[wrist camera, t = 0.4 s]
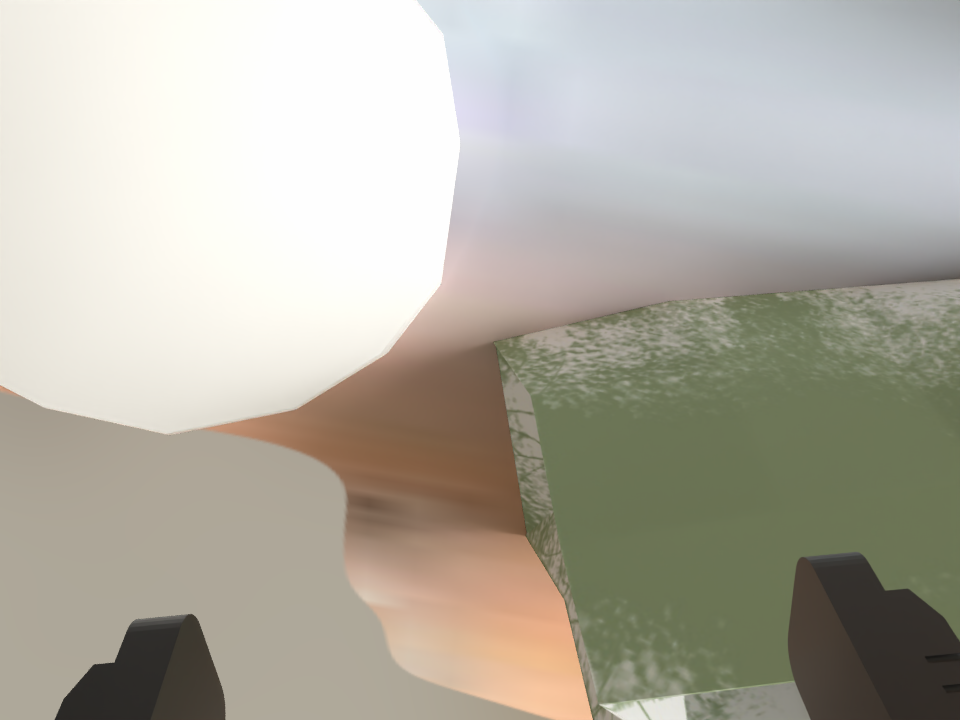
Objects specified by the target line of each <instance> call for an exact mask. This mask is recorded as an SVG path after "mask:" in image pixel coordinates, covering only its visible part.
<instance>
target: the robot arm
mask: <svg viewBox="0 0 960 720" xmlns="http://www.w3.org/2000/svg"><path fill="white" fill-rule="evenodd" d="M788 653H789V660H790V665H791V670H792V674H793V677H794V680H795V683H796V686H797V688H798V691H799V693H800V696H801V698H802V700H803V703H804V705H805V707H806V710H807V712H808V714H809V717H810V719H811V720H960V641H959V639H958V638H957V636H956V635H955V633H954V632H953V630H952V629H951V627H950V626H949V624H948V622H947V621H946V619H945V618H944V617H943V616H942V615H941V614H939V613H938V612H937V611H936V610H934V609H933V608H932V607H931V606H930V605H928V604H927V603H926V602H925V601H923V600H922V599H921V598H920V597H918V596H917V595H916V594H915V593H913V592H912V591H911V590H910V589H908V588H907V589H897V590H886V591H885V589H884V587H883V586H882V584H881V582H880V581H879V579H878V577H877V576H876V574H875V572H874V571H873V569H872V567H871V566H870V564H869V562H868V561H867V559H866V558H865V557H864V556H863V555H862V554H861V553H859V552H849V553H839V554H829V555H818V556H808V557H801V558H799V560H798V562H797V565H796V571H795V580H794V588H793V597H792V605H791V613H790V622H789V630H788ZM55 720H225V700H224V694H223V690H222V686H221V683H220V681H219V678H218V675H217V672H216V669H215V666H214V664H213V661H212V658H211V655H210V652H209V649H208V646H207V644H206V641H205V638H204V635H203V632H202V629H201V627H200V624H199V621H198V620H197V618H196V617H195V616H194V615H192V614H188V615H177V616H167V617H157V618H146V619H136V620H135V621H133V622H132V623H131V625H130V626H129V628H128V630H127V632H126V635H125V637H124V640H123V642H122V645H121V648H120V650H119V653H118V655H117V658H116V660H115V663H105V664H95V665H93V666H92V667H91V668H90V670H89V671H88V672H87V673H86V674H85V675H84V677H83V678H82V679H81V680H80V681H79V682H78V683H77V685H76V686H75V687H74V688H73V689H72V690H71V691H70V693H69V694H68V695H67V696H66V697H65V698H64V700H63V702H62V704H61V707H60V709H59V711H58V714H57V716H56V718H55Z"/></svg>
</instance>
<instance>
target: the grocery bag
mask: <svg viewBox="0 0 960 720" xmlns="http://www.w3.org/2000/svg"><path fill="white" fill-rule="evenodd" d="M494 344H495V345H496V350H497V356H498V362H499V368H500V374H501V380H502V386H503V392H504V398H505V404H506V410H507V416H508V422H509V429H510V435H511V441H512V447H513V453H514V459H515V465H516V471H517V477H518V483H519V489H520V495H521V501H522V507H523V513H524V519H525V525H526V531H527V534H526V537H527V539H528V541H529V542H530V544H531V546H532V547H533V549H534V551H535V552H536V554H537V556H538V557H539V559H540V560H541V562H542V564H543V565H544V567H545V569H546V570H547V572H548V574H549V575H550V577H551V579H552V580H553V582H554V584H555V585H556V587H557V589H558V590H559V592H560V593H561V595H562V597H563V598H564V601H565V605H566V609H567V613H568V617H569V621H570V626H571V630H572V634H573V638H574V642H575V647H576V651H577V655H578V659H579V663H580V667H581V672H582V676H583V680H584V684H585V688H586V693H587V697H588V701H589V705H590V709H591V713H592V718H593V720H811V719H810V717H809V714H808V712H807V710H806V707H805V705H804V703H803V700H802V698H801V696H800V693H799V691H798V688H797V686H796V683H795V680H794V677H793V674H792V670H791V665H790V660H789V653H788V630H789V622H790V613H791V605H792V597H793V588H794V580H795V571H796V565H797V562H798V560H799V558H801V557H808V556H818V555H829V554H839V553H849V552H859V553H861V554H862V555H863V556H864V557H865V558H866V559H867V561H868V562H869V564H870V566H871V567H872V569H873V571H874V572H875V574H876V576H877V577H878V579H879V581H880V582H881V584H882V586H883V587H884V589H885V591H886V590H897V589H907V588H908V589H910V590H911V591H912V592H913V593H915V594H916V595H917V596H918V597H920V598H921V599H922V600H923V601H925V602H926V603H927V604H928V605H930V606H931V607H932V608H933V609H934V610H936V611H937V612H938V613H939V614H941V615H942V616H943V617H944V618H945V619H946V621H947V622H948V624H949V626H950V627H951V629H952V630H953V632H954V633H955V635H956V636H957V638H958V639H959V641H960V279H951V280H938V281H925V282H912V283H899V284H887V285H874V286H861V287H848V288H835V289H822V290H809V291H796V292H783V293H770V294H757V295H744V296H731V297H718V298H705V299H692V300H679V301H668V302H664V303H659V304H655V305H651V306H646V307H642V308H638V309H633V310H629V311H625V312H620V313H616V314H612V315H608V316H603V317H599V318H595V319H590V320H586V321H582V322H577V323H573V324H569V325H564V326H560V327H556V328H551V329H547V330H543V331H538V332H534V333H530V334H525V335H521V336H517V337H512V338H508V339H504V340H499V341H495V342H494Z"/></svg>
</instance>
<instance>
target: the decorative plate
mask: <svg viewBox="0 0 960 720" xmlns="http://www.w3.org/2000/svg"><path fill="white" fill-rule="evenodd" d="M459 148H460V139H459V131H458V125H457V119H456V113H455V106H454V100H453V94H452V87H451V81H450V75H449V69H448V62H447V56H446V50H445V43H444V37H443V33H442V32H441V31H440V30H439V28H438V27H437V26H436V25H435V23H434V22H433V21H432V19H431V18H430V17H429V16H428V14H427V13H426V12H425V11H424V9H423V8H422V7H421V6H420V4H419V3H418V2H417V0H0V385H1V386H3V387H5V388H7V389H9V390H11V391H13V392H15V393H17V394H18V395H20V396H22V397H24V398H26V399H28V400H30V401H32V402H34V403H36V404H38V405H40V406H42V407H44V408H48V409H52V410H57V411H61V412H66V413H70V414H75V415H79V416H84V417H89V418H93V419H98V420H103V421H107V422H112V423H116V424H121V425H125V426H130V427H135V428H140V429H144V430H148V431H153V432H158V433H162V434H167V435H173V434H178V433H183V432H188V431H193V430H198V429H203V428H208V427H213V426H218V425H223V424H228V423H233V422H238V421H243V420H248V419H252V418H257V417H262V416H267V415H272V414H277V413H282V412H287V411H292V410H296V409H298V408H299V407H301V406H303V405H304V404H306V403H308V402H309V401H311V400H312V399H314V398H316V397H317V396H319V395H321V394H322V393H324V392H325V391H327V390H329V389H330V388H332V387H334V386H335V385H337V384H338V383H340V382H342V381H343V380H345V379H347V378H348V377H350V376H351V375H353V374H355V373H356V372H358V371H360V370H361V369H363V368H364V367H366V366H368V365H369V364H371V363H373V362H374V361H376V360H377V359H379V358H381V357H382V356H384V355H385V354H387V353H388V352H389V351H390V349H391V348H392V347H393V345H394V344H395V343H396V342H397V340H398V339H399V338H400V336H401V335H402V334H403V333H404V331H405V330H406V329H407V327H408V326H409V325H410V323H411V322H412V321H413V320H414V318H415V317H416V316H417V314H418V313H419V312H420V311H421V309H422V308H423V307H424V305H425V304H426V303H427V302H428V300H429V299H430V298H431V296H432V295H433V294H434V292H435V291H436V290H437V289H438V287H439V286H440V285H441V281H442V273H443V266H444V259H445V251H446V244H447V237H448V229H449V222H450V215H451V207H452V200H453V192H454V185H455V178H456V170H457V163H458V156H459Z"/></svg>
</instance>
